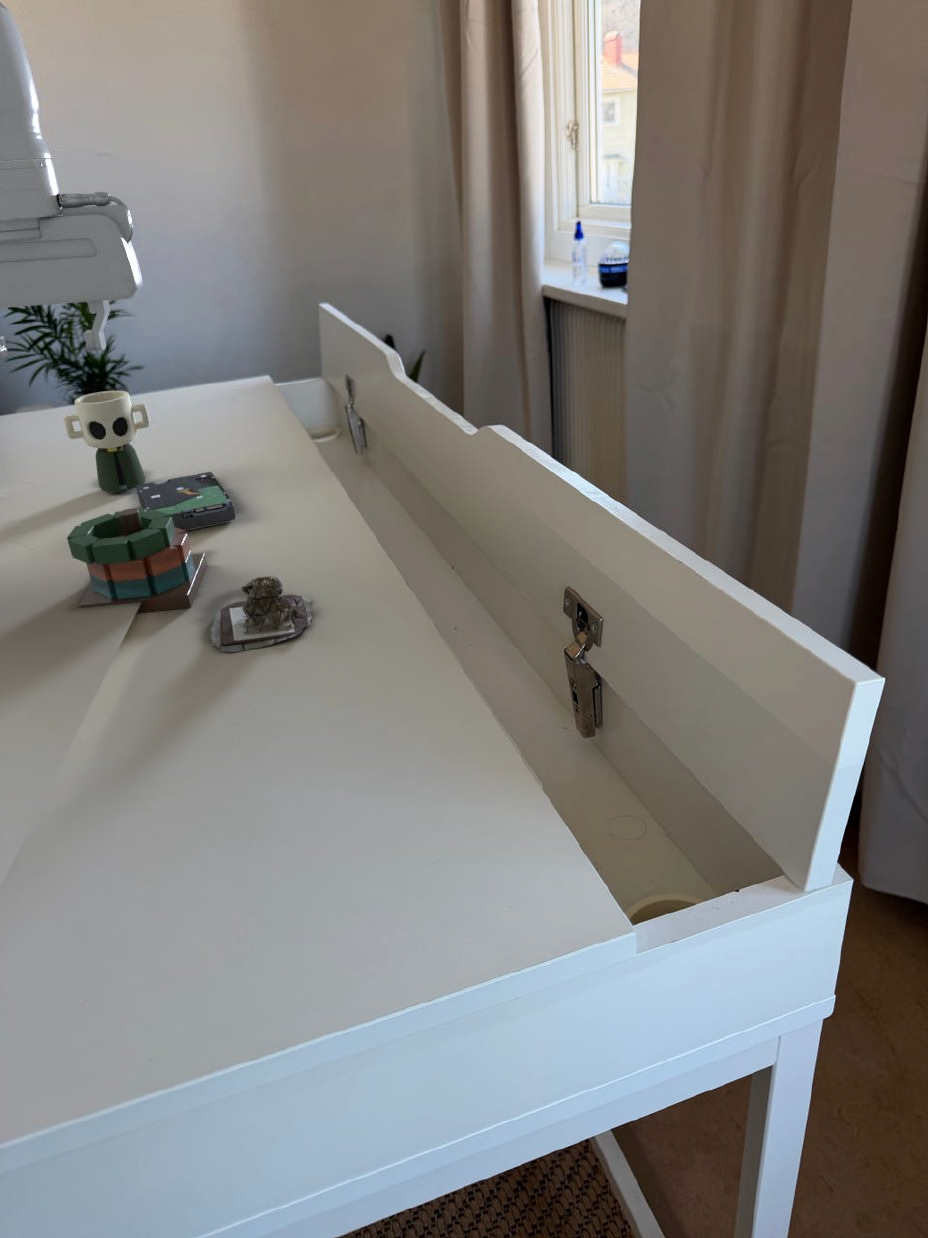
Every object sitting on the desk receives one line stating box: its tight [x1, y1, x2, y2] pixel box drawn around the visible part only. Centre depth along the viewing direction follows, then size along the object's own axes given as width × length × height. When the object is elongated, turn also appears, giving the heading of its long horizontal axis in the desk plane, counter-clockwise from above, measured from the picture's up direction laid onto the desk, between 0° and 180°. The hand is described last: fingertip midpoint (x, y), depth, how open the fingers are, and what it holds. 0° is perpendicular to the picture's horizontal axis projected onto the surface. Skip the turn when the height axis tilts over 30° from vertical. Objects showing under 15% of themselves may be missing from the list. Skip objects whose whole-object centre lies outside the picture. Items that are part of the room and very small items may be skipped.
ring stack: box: [78, 508, 208, 614], centre depth 99 cm, size 11×11×9 cm
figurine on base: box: [210, 575, 313, 653], centre depth 92 cm, size 12×6×11 cm
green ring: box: [66, 508, 176, 565], centre depth 98 cm, size 10×10×2 cm
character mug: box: [63, 390, 151, 493], centre depth 130 cm, size 11×7×13 cm, turn 111°
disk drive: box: [135, 471, 237, 532], centre depth 122 cm, size 10×3×15 cm
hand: (47, 353), depth 91 cm, fingers open, 8 cm apart
